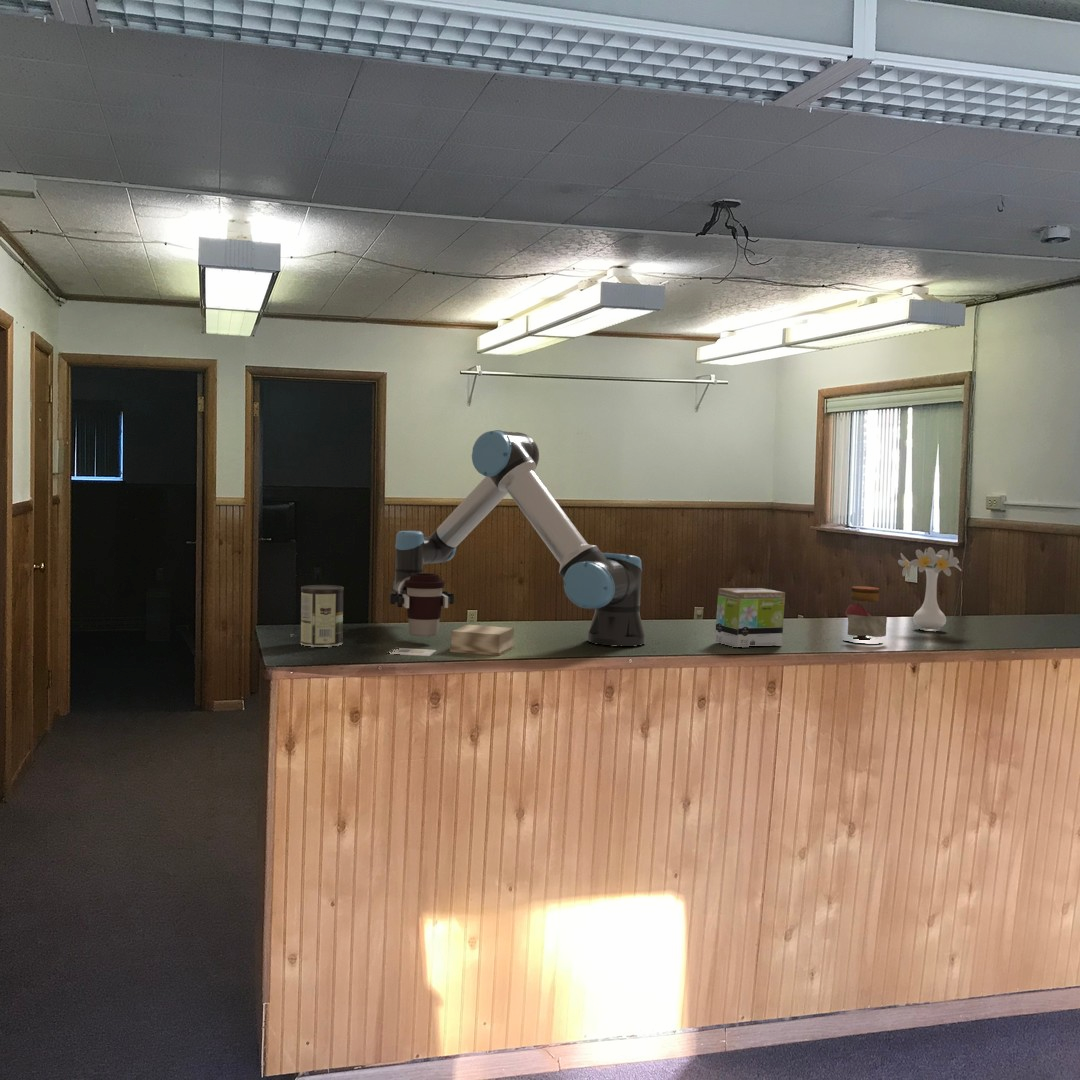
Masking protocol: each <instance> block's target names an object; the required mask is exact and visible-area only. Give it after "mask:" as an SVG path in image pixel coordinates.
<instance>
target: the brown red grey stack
mask: <svg viewBox="0 0 1080 1080" xmlns="http://www.w3.org/2000/svg"><path fill="white" fill-rule="evenodd" d="M850 591H851V592H850V593H851V594H850V600H852V601H858V602H870V603H871V602H873V603H874V602H879V601H880V588H878V587H875V586H874V587H873V586H863V585H862V586H860V585H858V586H857V585H855V586H851V590H850ZM844 613H845V616H846V617H847V635H849V636H851V637H853V639H859V640H870V638H881V637H886V636H887V621H888V619H887V618H888V616H887V615H883V616H882V615H880V616H879V615H877V616H876V615H875V616H873V615H871V614H870V613H868V611H867V610H866V609H865V608H864V607H863V606H862V605H861V604H859V603H851V604H850V605H848V607H847V609H846V610H845V612H844ZM867 637H869V638H867Z"/></svg>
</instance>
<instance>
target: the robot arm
mask: <svg viewBox="0 0 1080 1080" xmlns="http://www.w3.org/2000/svg"><path fill="white" fill-rule="evenodd" d="M471 460H472V461H471V462H472V465H473V467H474V468H475V470H476V471H477V472H478V473H479V474H481V475H482V476H483V479H482V480H481V481H480V482H479V483H478V484H477V485H476V486H475V488H474V489H472V491H471V492H470V493H469V494H468V495H467V496H466V497H465V498H464V499H463V500H462V501H461V502H460V504H458V505H457V506H456V508H455V509H454V510H453V511H452V512H451V513H450V514H449V515H448V516H447V517H446V519H444V520H443V522H442V523H441V524H440V525H439V526H438V527H437V528H436V529H435V531H433V532H432V533H431V534H430V535H429V536H424V533H423V531H420V530H400V531H397V533H396V535H395V536H396V537H395V546H394V547H395V548H394V549H395V553H394V554H395V555H394V556H395V564H394V565H395V569H394V570H395V571H394V581H393V585H392V588H393V589H392V590H390V594H389V604H390V605H395V604H396V603H397V606H396V607H397V608H403V607H404V608H405V609H407V608H409V596H407V587H405V580H409V579H410V576H411V574H417V573H424V565H427V564H442V563H445V562H449V561H450V560H452V559H453V558H454V557H455V555H456V551H457V547H458V545H460V544H461V542H463V541H464V540H465V538H467V537H468V535H469V534H470V533H472V531H473V530H474V529H475V528H476V527H477V526H478V525H479V524H480V523H481V522H482V521H483V519H485V518H486V517H487V516H488V515H489V513H491V512H492V511H493V509H495V507H496V506H497V505H499V503H500V502H502V500H503V499H504V498H505V497H506V496H507V495H508V494H509V495H510V497H511V499H512V500H513V501H514V502H515V504H516V505H517V507H518V508H519V509H520V511H521V512H522V513H523V515H524V517H525V518H526V519H527V520H528V522H529V523H530V524H531V526H532V528H533V529H534V530H535V531H536V533H537V534H538V536H539V537H540V538H541V540H542V541H543V543H544V544H545V546H546V547H547V548H548V549H549V551H550V552H551V554H552V555H553V557H554V558H555V559H556V561H557V563H559V570H558V572H559V575H560V576H561V578H562V579H563V590H564V592H565V593H564V594H566V597H567V599H569V601H570V602H571V603H572V604H573V605H576V607H579V608H582V609H587V610H589V609H591V610H594V614H593V615H592V616H593V617H592V620H591V622H590V624H589V628H588V631H587V634H586V635H587V637H586V641H587V640H588V641H589V642H592V643H597V644H603V645H617V646H621V645H622V646H634V645H640V644H644V643H645V644H646V639H647V638H646V632H645V629H644V624H643V621H642V619H641V618H642V617H641V615H640V613H641V612H640V611H641V596H642V595H641V590H642V573H643V568H642V559H641V558H640V557H639V556H636V555H631V554H625V553H611V552H602V551H601V550H600V548H599V546H597V545H596V544H595V545H594V544H589V543H588V542H587V541H586V539H585V538H584V537H583V536H582V534H581V533H580V531H579V530H578V528H577V527H576V526H575V524H574V523H573V522H572V521H571V519H570V518H569V517H568V515H567V514H566V513H565V511H564V510H563V508H562V507H561V506H560V504H559V503H558V502H557V500H556V499H555V498H554V496H553V495H552V493H551V492H550V491H549V489H548V488H547V486H546V485H545V484H544V483H543V482H542V480H541V479H540V478H539V476H538V474H537V473H536V468H537V466H538V464H539V460H540V452H539V447H538V445H537V442H535V440H534V439H533V438H532V437H531V436H529V435H528V434H526V433H523V432H513V431H504V430H499V429H497V430H489V431H486V432H483V433H482V434H481V435H479V436H478V438H476V440H475V442H474V444H473V446H472V453H471ZM449 604H450V605H453V604H455V594H454V593H453V592H449V591H447V590H446V591H445V590H444V589H442V607H443V608H444V609H448V608H449ZM589 642H588V643H589ZM592 643H591V644H592ZM645 644H644V645H645ZM603 645H602V646H603ZM634 647H635V646H634Z"/></svg>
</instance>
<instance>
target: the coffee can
mask: <svg viewBox="0 0 1080 1080" xmlns="http://www.w3.org/2000/svg"><path fill="white" fill-rule="evenodd" d="M344 589H345V587H344V586H342V585H335V584H312V585H311V584H310V585H309V584H308V585H303V586H300V591H301V592H300V593H301V595H300V596H301V597H300V644H301V645H300V646H302V645H304V646H303V647H305V646H311V647H310V648H314V647H328V648H333V647H332V646H337V647H340V646H339V645H341V646H343V645H344V642H343V637H344V636H343V635H344V634H343V633H344V630H343V629H344V627H343V626H344V625H343V623H344V622H343V621H344V617H343V616H344V591H345V590H344ZM342 644H343V645H342Z"/></svg>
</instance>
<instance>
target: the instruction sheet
mask: <svg viewBox="0 0 1080 1080" xmlns="http://www.w3.org/2000/svg"><path fill="white" fill-rule="evenodd" d="M398 648H399V650H398V649H396V650H395V649H394V648H393V649H394V650H393V649H392V650H393V652H392V653H391V652H390V651H388V652H389V653H390V654H389V655H394V654H400V655H401V656H412V657H413V656H415V657H430V656H431V655H433V654H434V653H435V652H436V651H437V650H436V649H426V648H425V649H424V648H423V649H422V648H409V647H408V648H406V647H405V648H404V647H398ZM394 651H395V652H394ZM400 655H399V656H400Z"/></svg>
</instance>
